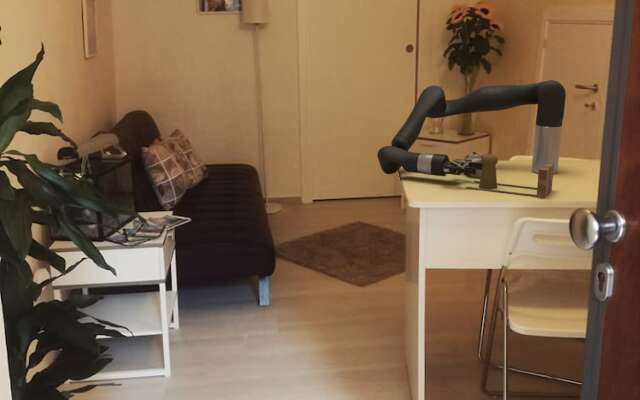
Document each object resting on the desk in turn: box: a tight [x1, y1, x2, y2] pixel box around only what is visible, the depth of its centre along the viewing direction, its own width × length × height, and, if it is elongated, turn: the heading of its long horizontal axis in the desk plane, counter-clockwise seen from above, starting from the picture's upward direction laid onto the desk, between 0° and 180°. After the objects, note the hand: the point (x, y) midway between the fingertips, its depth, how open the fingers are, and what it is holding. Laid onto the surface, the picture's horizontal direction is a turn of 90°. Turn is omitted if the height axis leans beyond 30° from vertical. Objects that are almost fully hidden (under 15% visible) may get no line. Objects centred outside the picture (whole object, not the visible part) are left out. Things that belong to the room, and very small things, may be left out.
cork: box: [478, 154, 499, 190], centre depth 238 cm, size 6×6×11 cm
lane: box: [465, 163, 554, 199], centre depth 235 cm, size 12×26×9 cm, turn 62°
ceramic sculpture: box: [463, 151, 482, 179], centre depth 257 cm, size 11×9×15 cm
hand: (479, 168), depth 239 cm, fingers open, 8 cm apart
